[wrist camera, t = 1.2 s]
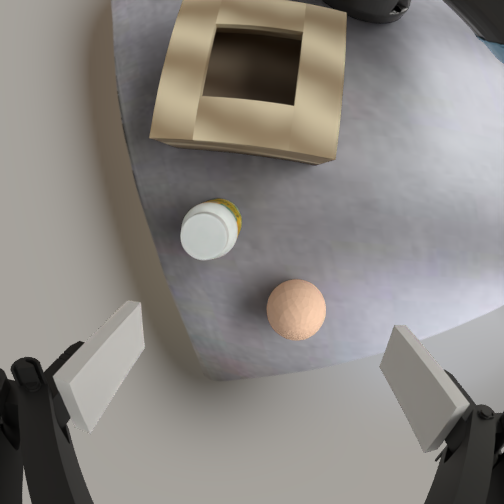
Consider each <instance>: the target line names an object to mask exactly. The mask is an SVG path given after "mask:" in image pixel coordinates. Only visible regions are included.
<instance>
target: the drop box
mask: <svg viewBox="0 0 504 504" xmlns="http://www.w3.org/2000/svg"><path fill="white" fill-rule="evenodd" d="M346 21H347V13H346V12H342V11H338V10H334V9H330V8H326V7H321V6H317V5H312V4H306V3H301V2H294V1H288V0H183V1H182V4H181V7H180V10H179V13H178V16H177V19H176V23H175V26H174V29H173V32H172V36H171V39H170V43H169V46H168V50H167V54H166V58H165V62H164V66H163V70H162V74H161V79H160V83H159V88H158V92H157V97H156V102H155V108H154V113H153V119H152V125H151V131H150V137H149V138H151V139H154V140H157V141H160V142H162V143H165V144H168V145H171V146H174V147H176V148H183V149H197V150H209V151H219V152H229V153H238V154H246V155H254V156H262V157H269V158H275V159H282V160H288V161H294V162H300V163H306V164H311V165H319V164H322V163H325V162H329V161H332V160H335V158H336V151H337V143H338V134H339V126H340V116H341V106H342V95H343V83H344V68H345V50H346Z"/></svg>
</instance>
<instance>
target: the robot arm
mask: <svg viewBox="0 0 504 504" xmlns="http://www.w3.org/2000/svg"><path fill="white" fill-rule="evenodd" d="M323 1H324V2H326V3H327V4H328V5H330V6H331V7H333V8H335V9H336V10H338V11H342V12H346V13H347V15H349V16H351V17H354V18H356V19H360V20H363V21H367V22H373V23H390V22H394V21H396V20H398V19H399V18H401V17H402V16H403V14H404V13H405V12H406V11H407V10H408V8H409V6H410V2H411V0H323ZM443 1H444V2H445V3H446V4H447V5H448V6H449V7H450V8H451V9H452V10H453V11H454V12H455V13H456V14H457V15H458V16H459V17H460V18H461V19H462V20H463V21H464V22H465V23H466V24H467V25H468V26H469V27H470V28H471V29H472V31H473V32H474V34H475V35H476V37H477V38H478V39H479V40H481V41H482V42H483V43H484V44H485V45H486V46H487V47H488V48H489V49H490V51H491V52H492V53H493V54H494V55H495V57H496V58H497V59H498V60H500V61H501V62H502V63H504V0H443ZM144 348H145V344H144V335H143V324H142V312H141V303H140V302H134V301H129V300H127V301H126V302H125V303H124V304H123V305H122V306H121V307H120V308H119V309H118V310H117V311H116V312H115V313H114V314H113V315H112V316H111V317H110V318H109V319H108V320H107V321H106V322H105V323H104V324H103V325H102V326H101V327H100V328H99V329H98V330H97V331H96V332H95V333H94V334H93V335H92V336H91V337H90V338H89V339H88V340H87V341H86V342H85V343H84V342H81V341H79V342H77V343H75V344H73V345H71V346H70V347H69V348H68V349H67V350H66V351H64V354H61V355H60V356H59V359H57V360H56V361H54V362H53V364H52V365H51V366H50V367H49V368H48V369H47V370H46V371H45V372H44V373H43V370H42V367H41V365H40V362H39V361H38V360H37V359H35V358H32V357H24V358H20V359H19V360H17V361H15V362H14V363H13V364H12V366H11V372H12V374H13V377H14V379H15V381H14V380H9V379H7V376H6V374H5V372H4V371H3V370H2V369H0V504H22V481H23V466H24V470H25V476H26V480H27V485H28V490H29V494H30V498H31V502H32V504H94V503H93V501H92V498H91V496H90V494H89V491H88V489H87V486H86V483H85V481H84V478H83V475H82V472H81V470H80V467H79V464H78V460H77V457H76V454H75V451H74V448H73V444H72V440H71V436H70V433H69V429H68V426H67V422H68V421H69V419H70V418H71V420H72V422H73V424H74V426H75V427H76V428H78V429H80V430H82V431H85V432H87V433H91V432H92V430H93V429H94V427H95V425H96V424H97V422H98V420H99V419H100V417H101V416H102V414H103V412H104V411H105V409H106V407H107V406H108V404H109V403H110V401H111V399H112V398H113V396H114V394H115V393H116V391H117V389H118V388H119V387H120V385H121V383H122V382H123V380H124V379H125V377H126V376H127V374H128V373H129V371H130V369H131V368H132V366H133V365H134V363H135V362H136V360H137V359H138V357H139V356H140V354H141V352H142V351H143V349H144ZM380 369H381V371H382V372H383V374H384V376H385V378H386V380H387V381H388V383H389V385H390V387H391V389H392V391H393V392H394V394H395V396H396V398H397V400H398V402H399V404H400V406H401V408H402V410H403V412H404V414H405V415H406V417H407V419H408V421H409V423H410V425H411V427H412V429H413V431H414V433H415V435H416V437H417V439H418V441H419V444H420V446H421V448H422V450H423V452H424V453H426V452H429V451H432V450H436V449H438V447H439V446H440V445H441V444H442V443H443V441H444V440H445V441H446V443H447V446H446V447H445V448H444V449H443V451H442V452H441V453H440V454H439V455H438V457H437V458H436V459H435V461H437V460H438V459H439V458H440V457H441V460H440V462H439V466H438V469H437V472H436V475H435V478H434V481H433V483H432V486H431V488H430V491H429V493H428V496H427V499H426V501H425V503H424V504H504V452H503V453H501V449H502V448H503V447H504V412H503V413H494V411H493V410H492V409H491V408H490V407H488V406H486V405H476V404H475V403H474V402H473V400H472V399H471V398H470V396H469V395H468V394H467V393H466V391H465V390H464V389H463V388H462V386H461V385H460V384H459V383H458V382H457V380H456V379H455V378H454V376H453V375H452V374H450V373H449V372H447V371H446V370H443V369H442V368H441V366H440V365H439V364H438V363H437V361H436V360H435V359H434V358H433V357H432V355H431V354H430V353H429V352H428V351H427V349H426V348H425V347H424V346H423V345H422V344H421V342H420V341H419V340H418V339H417V338H416V337H415V335H414V334H413V333H412V332H411V331H410V330H409V329H408V327H407V326H406V325H394V327H393V330H392V333H391V336H390V339H389V342H388V345H387V348H386V351H385V353H384V356H383V359H382V361H381V364H380Z"/></svg>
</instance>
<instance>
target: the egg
mask: <svg viewBox="0 0 504 504" xmlns="http://www.w3.org/2000/svg"><path fill="white" fill-rule="evenodd" d="M325 315H326V305H325V301H324V298H323V296H322V294H321V292H320V291H319V290H318V288H316V287H315V286H314V285H313V284H312V283H310V282H307V281H304V280H299V279H293V280H288V281H285V282H283V283H281V284H280V285H278V286H277V287H276V288H275V289H274V290H273V291H272V293H271V295H270V296H269V298H268V303H267V317H268V321H269V323H270V325H271V327H272V328H273V329H274V330H275V332H277V333H278V334H279V335H281V336H283V337H284V338H286V339H290V340H304V339H307V338H309V337H311V336H312V335H314V334H315V333H316V332H317V331H318V330H319V328H320V327H321V325H322V323H323V321H324V319H325Z"/></svg>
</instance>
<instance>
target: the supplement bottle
mask: <svg viewBox="0 0 504 504" xmlns="http://www.w3.org/2000/svg"><path fill="white" fill-rule="evenodd" d="M241 226H242V218H241V214H240V212H239V210H238V208H237V207H236V206H235V205H234V204H233V203H232V202H230V201H228V200H226V199H220V198H218V199H212V200H209V201H206V202H203V203H201V204H198V205H196V206H195V207H193V208H192V209H191V210H189V212H188V213H187V214H186V215H185V217H184V219H183V222H182V226H181V233H180V238H181V243H182V246H183V248H184V250H185V251H186V252H187V253H188V254H189V255H190V256H192V257H193V258H196V259H199V260H210V259H215V258H219V257H221V256H223V255H225V254H226V253H228V252H229V251H230V250H231V249H232V247H233V246H234V244H235V242H236V240H237V237H238V235H239V232H240V229H241Z"/></svg>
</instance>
